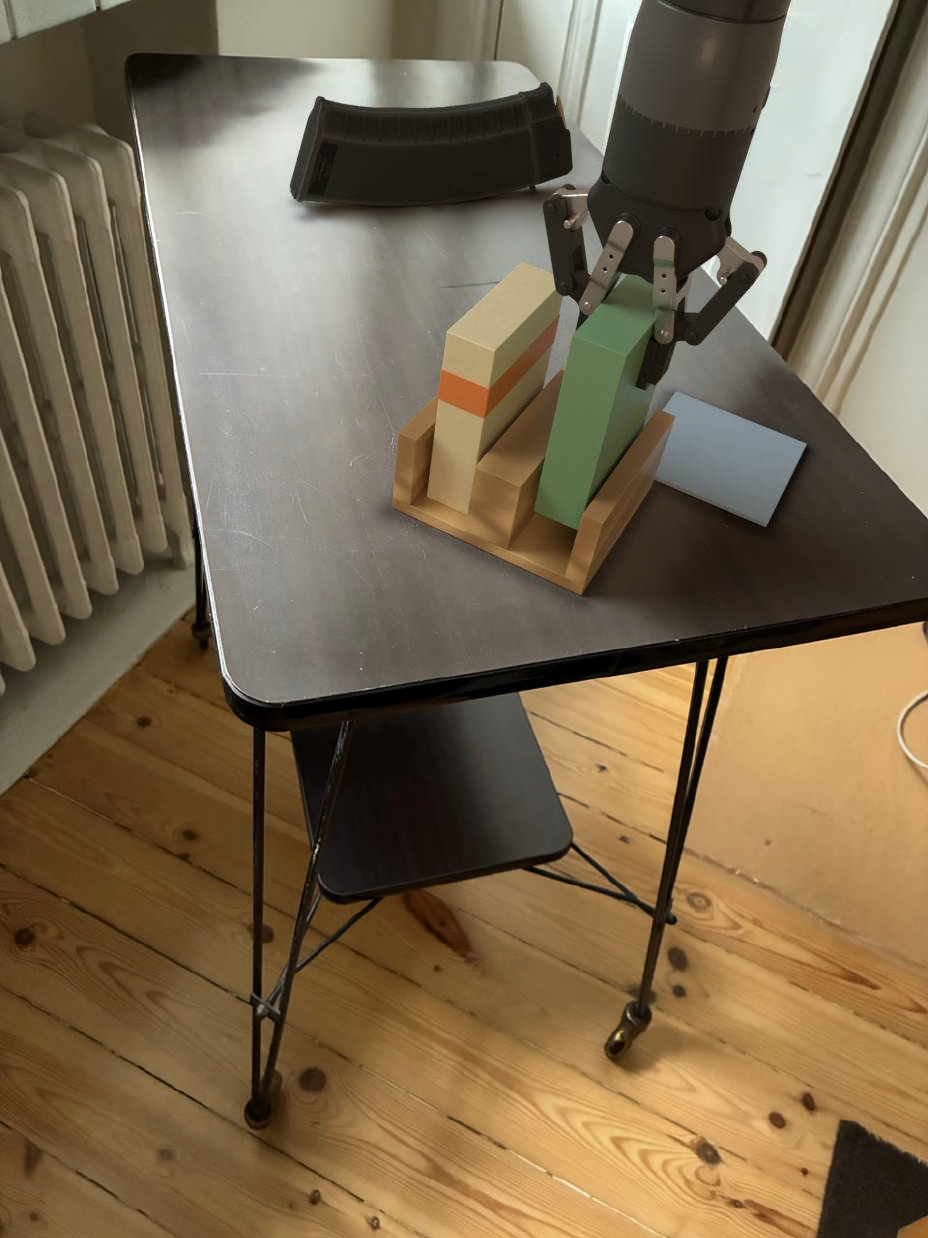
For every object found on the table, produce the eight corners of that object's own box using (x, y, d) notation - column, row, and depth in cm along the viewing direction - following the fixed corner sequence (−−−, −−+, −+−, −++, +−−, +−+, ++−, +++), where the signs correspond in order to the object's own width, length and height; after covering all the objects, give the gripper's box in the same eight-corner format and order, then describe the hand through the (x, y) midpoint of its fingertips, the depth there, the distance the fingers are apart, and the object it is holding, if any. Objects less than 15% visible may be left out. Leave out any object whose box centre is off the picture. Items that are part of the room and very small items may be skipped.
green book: (637, 448, 74) (689, 277, 64) (578, 531, 67) (627, 355, 57) (594, 430, 75) (639, 259, 65) (533, 511, 68) (572, 334, 58)
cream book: (533, 438, 78) (568, 277, 68) (468, 516, 71) (495, 351, 61) (493, 421, 79) (521, 260, 69) (425, 497, 72) (445, 330, 62)
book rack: (651, 487, 78) (676, 415, 72) (580, 595, 69) (603, 523, 64) (479, 413, 81) (490, 339, 76) (391, 507, 73) (397, 432, 67)
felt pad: (805, 447, 84) (807, 443, 83) (765, 527, 76) (767, 523, 76) (674, 394, 86) (676, 390, 86) (624, 467, 79) (625, 463, 79)
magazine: (270, 123, 92) (564, 18, 94) (262, 108, 93) (550, 5, 96) (320, 279, 105) (576, 184, 108) (312, 263, 107) (563, 170, 110)
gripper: (539, 75, 51) (494, 359, 64) (801, 159, 47) (698, 442, 60) (596, 37, 56) (543, 309, 68) (838, 112, 52) (735, 384, 65)
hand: (616, 370), depth 64 cm, fingers closed on green book, 3 cm apart
